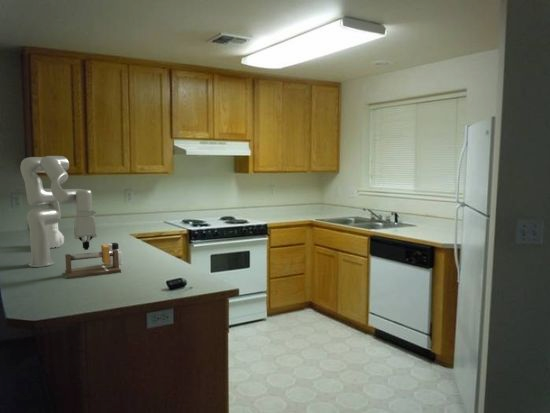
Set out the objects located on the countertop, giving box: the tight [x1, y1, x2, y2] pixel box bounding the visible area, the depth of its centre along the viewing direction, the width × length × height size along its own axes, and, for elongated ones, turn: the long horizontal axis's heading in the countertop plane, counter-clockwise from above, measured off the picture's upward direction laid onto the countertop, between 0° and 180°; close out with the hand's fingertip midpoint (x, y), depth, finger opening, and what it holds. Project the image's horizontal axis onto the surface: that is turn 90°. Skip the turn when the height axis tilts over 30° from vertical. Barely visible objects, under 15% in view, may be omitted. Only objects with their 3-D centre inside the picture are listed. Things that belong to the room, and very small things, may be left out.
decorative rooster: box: [45, 222, 65, 249], centre depth 307 cm, size 25×16×25 cm, turn 21°
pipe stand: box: [64, 250, 122, 280], centre depth 238 cm, size 15×25×11 cm, turn 120°
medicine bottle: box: [104, 242, 123, 266], centre depth 257 cm, size 7×7×12 cm
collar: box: [100, 243, 110, 265], centre depth 241 cm, size 9×2×9 cm, turn 30°
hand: (86, 249), depth 236 cm, fingers closed
